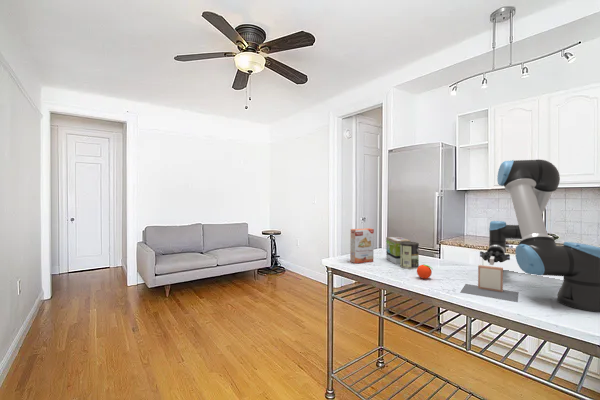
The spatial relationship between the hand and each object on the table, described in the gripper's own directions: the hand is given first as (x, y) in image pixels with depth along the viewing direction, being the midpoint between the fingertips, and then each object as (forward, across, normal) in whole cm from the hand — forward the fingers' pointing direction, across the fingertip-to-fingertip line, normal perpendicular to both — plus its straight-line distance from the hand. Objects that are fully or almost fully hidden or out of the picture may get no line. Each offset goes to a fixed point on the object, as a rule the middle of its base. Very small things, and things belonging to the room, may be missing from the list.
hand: (491, 261), depth 138 cm
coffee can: (-15, +42, -12) cm, 46 cm away
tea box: (-25, +52, -12) cm, 59 cm away
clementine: (+5, +28, -12) cm, 30 cm away
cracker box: (-11, +70, -12) cm, 72 cm away
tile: (+8, 0, -11) cm, 13 cm away
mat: (+12, 0, -11) cm, 17 cm away
